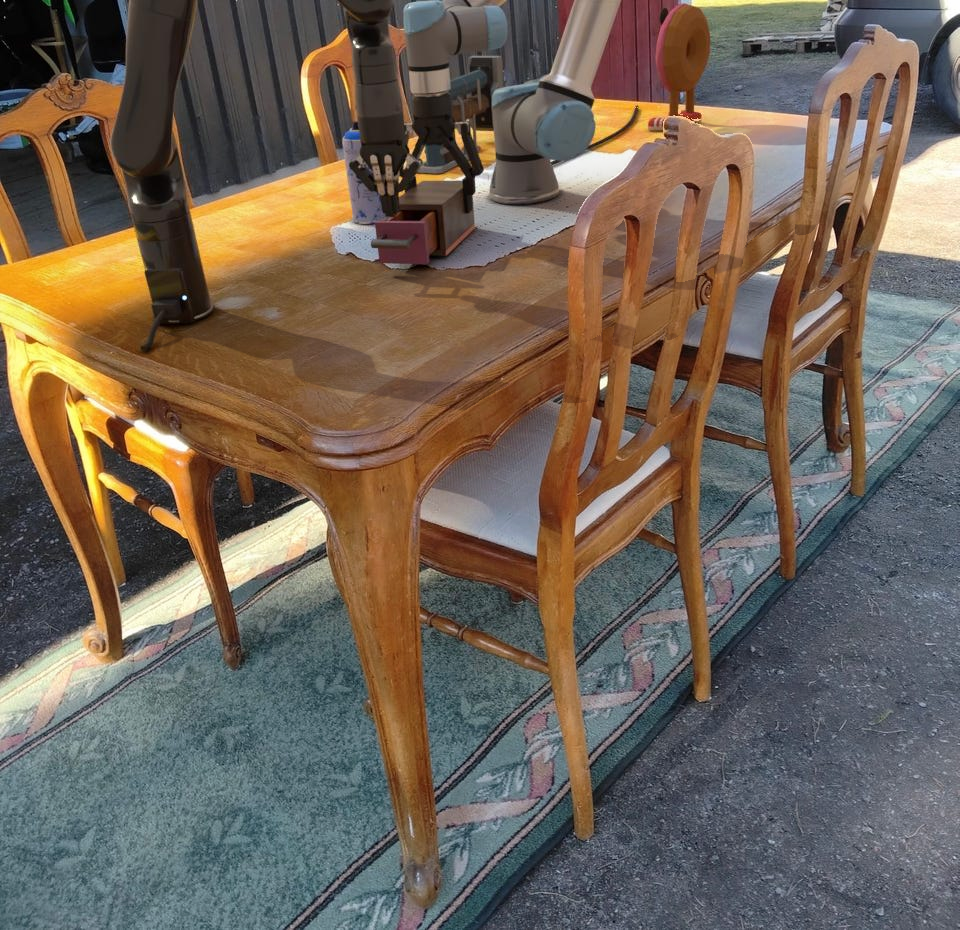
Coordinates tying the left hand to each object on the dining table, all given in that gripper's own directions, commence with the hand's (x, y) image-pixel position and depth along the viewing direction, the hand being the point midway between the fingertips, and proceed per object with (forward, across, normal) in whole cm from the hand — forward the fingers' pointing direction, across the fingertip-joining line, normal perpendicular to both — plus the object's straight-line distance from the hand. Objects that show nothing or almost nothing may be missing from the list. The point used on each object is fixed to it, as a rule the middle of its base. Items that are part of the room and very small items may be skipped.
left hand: (391, 215), depth 166 cm
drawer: (+10, 0, -9) cm, 13 cm away
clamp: (+12, +16, -90) cm, 92 cm away
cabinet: (+11, 0, -21) cm, 24 cm away
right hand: (+7, 0, -26) cm, 27 cm away
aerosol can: (+12, +19, -36) cm, 42 cm away
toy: (+11, -36, -121) cm, 127 cm away
